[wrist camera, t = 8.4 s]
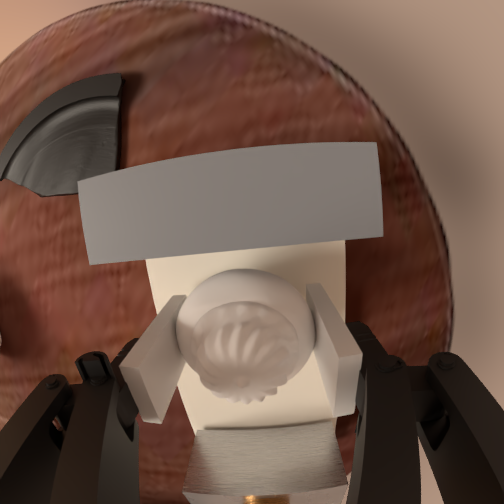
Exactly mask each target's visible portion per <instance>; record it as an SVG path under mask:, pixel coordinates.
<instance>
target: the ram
mask: <svg viewBox="0 0 504 504" xmlns="http://www.w3.org/2000/svg"><path fill="white" fill-rule="evenodd" d="M347 486H348V482H347V477H346V473H345V469H344V465H343V462H342V458H341V454H340V450H339V446H338V443H337V439H336V435H335V432H334V428H333V424H332V421H330V422H324V423H317V424H310V425H303V426H294V427H284V428H273V429H257V430H197V432H196V436H195V440H194V444H193V448H192V452H191V456H190V460H189V465H188V469H187V473H186V477H185V481H184V485H183V489H182V493H183V494H184V495H185V497H186V498H187V499H188V501H189V502H190V503H191V504H341V502H342V499H343V497H344V494H345V492H346V489H347Z"/></svg>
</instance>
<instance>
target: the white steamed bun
mask: <svg viewBox="0 0 504 504" xmlns="http://www.w3.org/2000/svg"><path fill="white" fill-rule="evenodd" d="M176 337H177V341H178V345H179V348H180V351H181V353H182V355H183V357H184V359H185V360H186V362H187V363H188V365H189V366H190V367H191V368H192V369H193V370H194V371H195V372H196V373H197V374H198V375H199V376H200V381H201V383H202V384H203V385H204V386H205V387H206V388H207V389H208V390H211V392H212V394H213V395H215V396H216V397H218V398H225V399H226V400H227V401H228V402H230V403H236V402H238V401H241V402H242V403H244V404H245V405H248V404H249V403H250V402H251V401H253V400H255V401H258V402H262V401H263V400H264V398H265V396H273V395H275V394H277V387H279V386H282V385H284V384H286V383H287V381H288V380H290V379H291V378H293V377H294V376H295V375H296V374H297V373H298V372H299V371H300V370H301V369H302V368H303V367H304V365H305V364H306V362H307V361H308V359H309V357H310V355H311V353H312V351H313V348H314V344H315V338H316V331H315V324H314V320H313V316H312V313H311V311H310V309H309V306H308V305H307V303H306V301H305V300H304V298H303V297H302V295H301V294H300V293H299V292H298V291H297V290H296V288H294V287H293V286H292V285H291V284H290V283H289V282H287V281H286V280H284V279H283V278H281V277H279V276H277V275H275V274H272V273H269V272H266V271H262V270H256V269H231V270H226V271H223V272H220V273H217V274H215V275H213V276H211V277H209V278H208V279H206V280H204V281H203V282H202V283H200V284H199V285H198V286H197V287H196V288H195V289H194V290H193V291H192V292H191V293H190V294H189V296H188V297H187V299H186V300H185V302H184V303H183V305H182V307H181V309H180V311H179V314H178V317H177V321H176Z"/></svg>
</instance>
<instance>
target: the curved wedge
mask: <svg viewBox="0 0 504 504" xmlns="http://www.w3.org/2000/svg"><path fill="white" fill-rule="evenodd" d="M124 83H125V80H124V79H122V77H121V73H114V74H105V75H98V76H94V77H89V78H86V79H83V80H80V81H77V82H74V83H72V84H70V85H68V86H66V87H64V88H62V89H60V90H58V91H57V92H55V93H53V94H52V95H51V96H49V97H48V98H46V99H45V100H44V101H43V102H41V103H40V104H39V105H38V106H37V107H36V108H35V109H34V110H33V111H32V112H31V113H30V114H29V115H28V116H27V117H26V118H25V119H24V120H23V121H22V123H21V124H20V125H19V126H18V128H17V129H16V130H15V132H14V133H13V134H12V136H11V137H10V139H9V141H8V142H7V144H6V146H5V147H4V149H3V151H2V153H1V155H0V181H2V180H3V179H4V178H5V179H9V180H11V181H13V182H15V183H17V184H18V185H22V186H25V187H27V188H28V189H30V190H31V191H33V192H34V193H36V194H37V195H39V196H40V197H51V196H65V195H75V194H79V192H78V182H77V181H81V180H84V179H88V178H91V177H95V176H98V175H102V174H106V173H110V172H114V171H118V170H119V167H120V156H121V113H120V104H121V96H122V88H123V85H124Z"/></svg>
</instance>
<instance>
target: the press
mask: <svg viewBox="0 0 504 504" xmlns="http://www.w3.org/2000/svg"><path fill="white" fill-rule="evenodd" d="M77 182H78V192H79V202H80V210H81V217H82V224H83V231H84V237H85V243H86V248H87V253H88V258H89V263H90V265H94V264H104V263H114V262H124V261H134V260H144V259H146V265H147V270H148V275H149V280H150V285H151V289H152V294H153V298H154V303H155V307H156V311H157V315H158V314H159V312H160V311H161V310H162V308H163V307H164V306H165V305H166V303H167V302H168V301H169V299H170V298H171V297H172V296H173V295H186V297H188V296H189V294H190V293H191V292H192V291H193V290H194V289H195V288H196V287H197V286H198V285H199V284H200V283H202V282H203V281H204V280H206V279H208V278H209V277H211V276H213V275H215V274H217V273H220V272H223V271H226V270H231V269H256V270H262V271H266V272H269V273H272V274H275V275H277V276H279V277H281V278H283V279H284V280H286V281H287V282H289V283H290V284H291V285H292V286H293V287H294V288H296V290H297V291H298V292H299V293H300V294H301V295H302V297H303V298H304V300H305V301H306V284H313V283H321V285H322V287H323V288H324V290H325V291H326V293H327V295H328V296H329V298H330V299H331V301H332V303H333V304H334V306H335V308H336V309H337V311H338V313H339V314H340V316H341V318H342V319H343V321H344V323H345V302H346V260H345V240H351V239H362V238H372V237H383V211H382V193H381V180H380V169H379V159H378V150H377V143H376V142H324V143H300V144H284V145H271V146H260V147H250V148H241V149H232V150H225V151H217V152H210V153H203V154H197V155H191V156H185V157H179V158H174V159H168V160H163V161H158V162H153V163H148V164H144V165H139V166H135V167H130V168H126V169H122V170H118V171H114V172H110V173H106V174H102V175H98V176H95V177H91V178H88V179H84V180H81V181H77ZM177 386H178V389H179V392H180V395H181V398H182V400H183V403H184V406H185V409H186V412H187V414H188V417H189V420H190V422H191V425H192V428H193V430H194V433H195V435H196V432H197V430H257V429H273V428H284V427H294V426H303V425H310V424H317V423H324V422H330V421H332V424H333V428H334V432H335V428H336V421H337V417H334V418H333V415H332V411H331V408H330V404H329V401H328V398H327V394H326V391H325V387H324V384H323V381H322V377H321V374H320V371H319V367H318V364H317V361H316V358H315V354H314V351H312V353H311V355H310V357H309V359H308V361H307V362H306V364H305V365H304V367H303V368H302V369H301V370H300V371H299V372H298V373H297V374H296V375H295V376H294V377H293V378H291V379H290V380H288V381H287V383H286V384H284V385H282V386H279V387H277V394H275V395H273V396H265V398H264V400H263V401H262V402H258V401H255V400H253V401H251V402H250V403H249V404H248V405H245V404H244V403H242V402H241V401H238V402H236V403H230V402H228V401H227V400H226V399H225V398H218V397H216V396H215V395H213V394H212V392H211V390H208V389H207V388H206V387H205V386H204V385H203V384H202V383H201V381H200V376H199V375H198V374H197V373H196V372H195V371H194V370H193V369H192V368H191V367H190V366H189V365H188V363H187V362H186V363H185V366H184V368H183V371H182V373H181V376H180V378H179V381H178V383H177Z"/></svg>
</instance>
